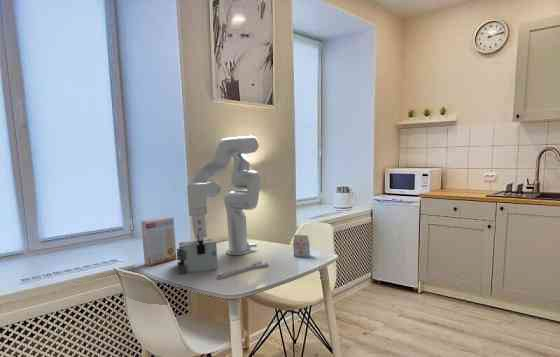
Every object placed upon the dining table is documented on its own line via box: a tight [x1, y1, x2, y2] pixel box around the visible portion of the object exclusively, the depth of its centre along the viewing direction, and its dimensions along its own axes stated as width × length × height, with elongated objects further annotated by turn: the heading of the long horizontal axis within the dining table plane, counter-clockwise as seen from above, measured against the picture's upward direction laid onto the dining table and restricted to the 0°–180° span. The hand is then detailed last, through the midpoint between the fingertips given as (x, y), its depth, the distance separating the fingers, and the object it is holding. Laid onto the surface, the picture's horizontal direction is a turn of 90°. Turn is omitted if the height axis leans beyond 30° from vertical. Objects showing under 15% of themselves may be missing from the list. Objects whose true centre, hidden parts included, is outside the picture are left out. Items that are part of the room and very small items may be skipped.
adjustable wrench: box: [216, 260, 269, 280], centre depth 145 cm, size 25×6×2 cm, turn 127°
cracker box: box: [140, 216, 177, 267], centre depth 164 cm, size 14×6×21 cm, turn 135°
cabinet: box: [176, 238, 213, 275], centre depth 154 cm, size 16×16×10 cm
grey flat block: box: [183, 240, 219, 274], centre depth 148 cm, size 14×4×12 cm, turn 107°
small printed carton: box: [293, 234, 311, 258], centre depth 164 cm, size 4×7×10 cm, turn 63°
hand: (200, 252), depth 149 cm, fingers open, 4 cm apart
